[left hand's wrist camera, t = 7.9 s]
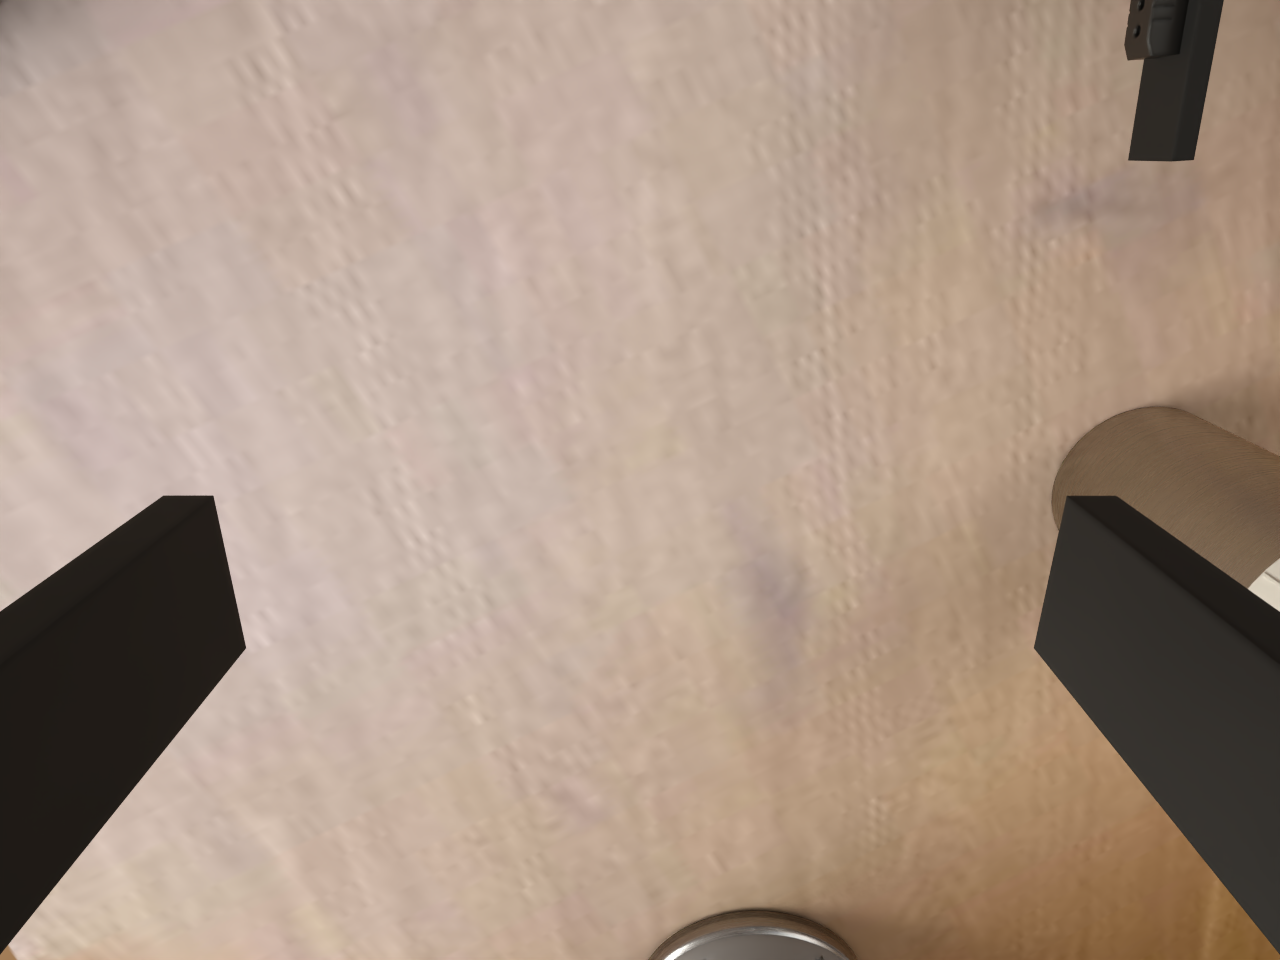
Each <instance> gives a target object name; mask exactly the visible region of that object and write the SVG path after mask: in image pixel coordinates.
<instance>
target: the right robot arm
mask: <svg viewBox="0 0 1280 960" xmlns="http://www.w3.org/2000/svg"><path fill="white" fill-rule="evenodd" d="M1223 1H1224V0H1131V4H1130V14H1129V17H1128V24H1127V25H1128V27H1127V31H1126V37H1125V44H1124V45H1125V50H1126V55H1127V59H1128V60H1141V59H1144V64H1143V70H1142V77H1141V83H1140V89H1139V96H1138V102H1137V108H1136V114H1135V121H1134V127H1133V133H1132V140H1131V146H1130V152H1129V159H1128V160H1135V161H1185V160H1194V156H1195V151H1196V145H1197V140H1198V135H1199V129H1200V124H1201V118H1202V113H1203V108H1204V102H1205V97H1206V92H1207V86H1208V81H1209V76H1210V70H1211V65H1212V60H1213V54H1214V49H1215V44H1216V38H1217V33H1218V28H1219V22H1220V17H1221V12H1222V6H1223Z"/></svg>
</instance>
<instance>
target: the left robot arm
mask: <svg viewBox="0 0 1280 960" xmlns="http://www.w3.org/2000/svg"><path fill="white" fill-rule="evenodd" d="M245 649H246V645H245V641H244V636H243V631H242V627H241V622H240V617H239V613H238V608H237V603H236V599H235V594H234V590H233V585H232V580H231V576H230V571H229V566H228V562H227V557H226V552H225V548H224V543H223V538H222V534H221V529H220V524H219V520H218V515H217V511H216V506H215V501H214V497H213V496H162V497H161V498H160V499H158V500H157V501H155V502H154V503H153V504H151V505H150V506H148V507H147V508H145V509H144V510H143V511H141V512H140V513H138V514H137V515H136V516H134V517H133V518H131V519H130V520H129V521H127V522H126V523H124V524H123V525H122V526H120V527H119V528H117V529H116V530H115V531H113V532H112V533H110V534H109V535H107V536H106V537H105V538H103V539H102V540H100V541H99V542H98V543H96V544H95V545H93V546H92V547H91V548H89V549H88V550H86V551H85V552H84V553H82V554H81V555H79V556H78V557H77V558H75V559H74V560H72V561H71V562H69V563H68V564H67V565H65V566H64V567H62V568H61V569H60V570H58V571H57V572H55V573H54V574H53V575H51V576H50V577H48V578H47V579H46V580H44V581H43V582H41V583H40V584H38V585H37V586H36V587H34V588H33V589H31V590H30V591H29V592H27V593H26V594H24V595H23V596H22V597H20V598H19V599H17V600H16V601H15V602H13V603H12V604H10V605H9V606H8V607H6V608H5V609H3V610H2V611H0V954H1V953H2V952H3V950H4V949H5V948H6V947H7V945H8V944H9V943H10V942H11V940H12V939H13V938H14V937H15V935H16V934H17V933H18V932H19V930H20V929H21V928H22V927H23V925H24V924H25V923H26V922H27V920H28V919H29V918H30V917H31V915H32V914H33V913H34V912H35V910H36V909H37V908H38V907H39V905H40V904H41V903H42V902H43V900H44V899H45V898H46V897H47V895H48V894H49V893H50V892H51V891H52V889H53V888H54V887H55V886H56V884H57V883H58V882H59V881H60V879H61V878H62V877H63V876H64V874H65V873H66V872H67V871H68V869H69V868H70V867H71V866H72V864H73V863H74V862H75V861H76V859H77V858H78V857H79V856H80V854H81V853H82V852H83V851H84V849H85V848H86V847H87V846H88V844H89V843H90V842H91V841H92V839H93V838H94V837H95V836H96V834H97V833H98V832H99V831H100V829H101V828H102V827H103V826H104V824H105V823H106V822H107V821H108V819H109V818H110V817H111V816H112V815H113V813H114V812H115V811H116V810H117V808H118V807H119V806H120V805H121V803H122V802H123V801H124V800H125V798H126V797H127V796H128V795H129V793H130V792H131V791H132V790H133V788H134V787H135V786H136V785H137V783H138V782H139V781H140V780H141V778H142V777H143V776H144V775H145V773H146V772H147V771H148V770H149V768H150V767H151V766H152V765H153V763H154V762H155V761H156V760H157V758H158V757H159V756H160V755H161V753H162V752H163V751H164V750H165V748H166V747H167V746H168V745H169V743H170V742H171V741H172V740H173V738H174V737H175V736H176V735H177V734H178V732H179V731H180V730H181V729H182V727H183V726H184V725H185V724H186V722H187V721H188V720H189V719H190V717H191V716H192V715H193V714H194V712H195V711H196V710H197V709H198V707H199V706H200V705H201V704H202V702H203V701H204V700H205V699H206V697H207V696H208V695H209V694H210V692H211V691H212V690H213V689H214V687H215V686H216V685H217V684H218V682H219V681H220V680H221V679H222V677H223V676H224V675H225V674H226V672H227V671H228V670H229V669H230V667H231V666H232V665H233V664H234V662H235V661H236V660H237V659H238V658H239V656H240V655H241V654H242V653H243V651H244V650H245ZM1034 649H1035V650H1036V651H1037V653H1038V654H1039V655H1040V656H1041V658H1042V659H1043V660H1044V661H1045V662H1046V664H1047V665H1048V666H1049V667H1050V669H1051V670H1052V671H1053V672H1054V674H1055V675H1056V676H1057V677H1058V679H1059V680H1060V681H1061V682H1062V684H1063V685H1064V686H1065V687H1066V689H1067V690H1068V691H1069V692H1070V694H1071V695H1072V696H1073V697H1074V699H1075V700H1076V701H1077V702H1078V704H1079V705H1080V706H1081V707H1082V709H1083V710H1084V711H1085V712H1086V714H1087V715H1088V716H1089V717H1090V719H1091V720H1092V721H1093V722H1094V724H1095V725H1096V726H1097V727H1098V729H1099V730H1100V731H1101V732H1102V734H1103V735H1104V736H1105V737H1106V738H1107V740H1108V741H1109V742H1110V743H1111V745H1112V746H1113V747H1114V748H1115V750H1116V751H1117V752H1118V753H1119V755H1120V756H1121V757H1122V758H1123V760H1124V761H1125V762H1126V763H1127V765H1128V766H1129V767H1130V768H1131V770H1132V771H1133V772H1134V773H1135V775H1136V776H1137V777H1138V778H1139V780H1140V781H1141V782H1142V783H1143V785H1144V786H1145V787H1146V788H1147V790H1148V791H1149V792H1150V793H1151V795H1152V796H1153V797H1154V798H1155V800H1156V801H1157V802H1158V803H1159V805H1160V806H1161V807H1162V808H1163V810H1164V811H1165V812H1166V813H1167V814H1168V816H1169V817H1170V818H1171V819H1172V821H1173V822H1174V823H1175V824H1176V826H1177V827H1178V828H1179V829H1180V831H1181V832H1182V833H1183V834H1184V836H1185V837H1186V838H1187V839H1188V841H1189V842H1190V843H1191V844H1192V846H1193V847H1194V848H1195V849H1196V851H1197V852H1198V853H1199V854H1200V856H1201V857H1202V858H1203V859H1204V861H1205V862H1206V863H1207V864H1208V866H1209V867H1210V868H1211V869H1212V871H1213V872H1214V873H1215V874H1216V876H1217V877H1218V878H1219V879H1220V881H1221V882H1222V883H1223V884H1224V886H1225V887H1226V888H1227V889H1228V891H1229V892H1230V893H1231V894H1232V895H1233V897H1234V898H1235V899H1236V900H1237V902H1238V903H1239V904H1240V905H1241V907H1242V908H1243V909H1244V910H1245V912H1246V913H1247V914H1248V915H1249V917H1250V918H1251V919H1252V920H1253V922H1254V923H1255V924H1256V925H1257V927H1258V928H1259V929H1260V930H1261V932H1262V933H1263V934H1264V935H1265V937H1266V938H1267V939H1268V940H1269V942H1270V943H1271V944H1272V945H1273V947H1274V948H1275V949H1276V950H1277V952H1278V953H1279V954H1280V611H1278V610H1277V609H1275V608H1274V607H1272V606H1271V605H1270V604H1268V603H1267V602H1265V601H1264V600H1263V599H1261V598H1260V597H1258V596H1257V595H1256V594H1254V593H1253V592H1251V591H1250V590H1249V589H1247V588H1246V587H1244V586H1243V585H1242V584H1240V583H1239V582H1237V581H1236V580H1234V579H1233V578H1232V577H1230V576H1229V575H1227V574H1226V573H1225V572H1223V571H1222V570H1220V569H1219V568H1218V567H1216V566H1215V565H1213V564H1212V563H1211V562H1209V561H1208V560H1206V559H1205V558H1203V557H1202V556H1201V555H1199V554H1198V553H1196V552H1195V551H1194V550H1192V549H1191V548H1189V547H1188V546H1187V545H1185V544H1184V543H1182V542H1181V541H1180V540H1178V539H1177V538H1175V537H1174V536H1173V535H1171V534H1170V533H1168V532H1167V531H1165V530H1164V529H1163V528H1161V527H1160V526H1158V525H1157V524H1156V523H1154V522H1153V521H1151V520H1150V519H1149V518H1147V517H1146V516H1144V515H1143V514H1142V513H1140V512H1139V511H1137V510H1136V509H1135V508H1133V507H1132V506H1130V505H1129V504H1127V503H1126V502H1125V501H1123V500H1122V499H1120V498H1119V497H1118V496H1067V497H1066V501H1065V506H1064V511H1063V515H1062V520H1061V524H1060V529H1059V534H1058V538H1057V543H1056V548H1055V552H1054V557H1053V562H1052V566H1051V571H1050V576H1049V580H1048V585H1047V590H1046V594H1045V599H1044V603H1043V608H1042V613H1041V617H1040V622H1039V627H1038V631H1037V636H1036V641H1035V645H1034ZM649 960H858V959H857V958H856V956H855V954H854V953H853V951H852V950H851V948H850V947H849V946H848V945H847V944H846V943H845V942H844V941H843V940H842V939H841V938H840V937H838V936H837V935H836V934H834V933H833V932H832V931H830V930H829V929H827V928H825V927H823V926H821V925H819V924H817V923H815V922H813V921H810V920H807V919H805V918H802V917H798V916H794V915H790V914H785V913H779V912H770V911H744V912H734V913H728V914H723V915H719V916H715V917H711V918H708V919H705V920H702V921H699V922H697V923H694V924H692V925H690V926H688V927H686V928H684V929H682V930H680V931H679V932H677V933H676V934H674V935H673V936H671V937H670V938H669V939H667V940H666V941H665V942H664V943H663V944H662V945H660V946H659V947H658V948H657V949H656V951H655V952H654V953H653V954H652V955H651V957H650V958H649Z"/></svg>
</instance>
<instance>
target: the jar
mask: <svg viewBox="0 0 1280 960" xmlns="http://www.w3.org/2000/svg"><path fill="white" fill-rule="evenodd" d="M1067 496H1118V497H1119V498H1120V499H1122V500H1123V501H1125V502H1126V503H1127V504H1129V505H1130V506H1132V507H1133V508H1135V509H1136V510H1137V511H1139V512H1140V513H1142V514H1143V515H1144V516H1146V517H1147V518H1149V519H1150V520H1151V521H1153V522H1154V523H1156V524H1157V525H1158V526H1160V527H1161V528H1163V529H1164V530H1165V531H1167V532H1168V533H1170V534H1171V535H1173V536H1174V537H1175V538H1177V539H1178V540H1180V541H1181V542H1182V543H1184V544H1185V545H1187V546H1188V547H1189V548H1191V549H1192V550H1194V551H1195V552H1196V553H1198V554H1199V555H1201V556H1202V557H1203V558H1205V559H1206V560H1208V561H1209V562H1211V563H1212V564H1213V565H1215V566H1216V567H1218V568H1219V569H1220V570H1222V571H1223V572H1225V573H1226V574H1227V575H1229V576H1230V577H1232V578H1233V579H1234V580H1236V581H1237V582H1239V583H1240V584H1242V585H1243V586H1244V587H1246V588H1247V589H1248V588H1249V587H1250V585H1251V584H1252V583H1253V582H1254V581H1255V580H1256V579H1257V578H1258V577H1259V576H1260V575H1261V574H1262V573H1263V572H1264V571H1265V570H1266V569H1267V568H1268V567H1269V566H1271V565H1272V564H1273V563H1274V562H1276V561H1277V560H1278V559H1279V558H1280V456H1278V455H1276V454H1274V453H1272V452H1270V451H1267V450H1265V449H1263V448H1261V447H1259V446H1257V445H1255V444H1253V443H1251V442H1249V441H1247V440H1245V439H1242V438H1240V437H1238V436H1236V435H1234V434H1232V433H1230V432H1228V431H1226V430H1224V429H1222V428H1219V427H1217V426H1215V425H1213V424H1211V423H1209V422H1207V421H1205V420H1203V419H1201V418H1199V417H1197V416H1194V415H1192V414H1190V413H1188V412H1185V411H1182V410H1179V409H1175V408H1168V407H1148V408H1140V409H1136V410H1131V411H1127V412H1125V413H1122V414H1119V415H1116V416H1114V417H1112V418H1110V419H1108V420H1106V421H1104V422H1103V423H1101V424H1100V425H1098V426H1096V427H1095V428H1094V429H1092V430H1091V431H1090V432H1089V433H1087V434H1086V435H1085V436H1084V437H1083V438H1082V439H1081V440H1080V441H1079V442H1078V443H1077V444H1076V445H1075V446H1074V447H1073V448H1072V450H1071V451H1070V452H1069V454H1068V455H1067V457H1066V458H1065V460H1064V461H1063V463H1062V465H1061V467H1060V469H1059V471H1058V473H1057V476H1056V479H1055V482H1054V487H1053V491H1052V512H1053V516H1054V520H1055V523H1056V525H1057V528H1058V530H1059V529H1060V524H1061V520H1062V515H1063V511H1064V506H1065V501H1066V497H1067Z"/></svg>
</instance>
